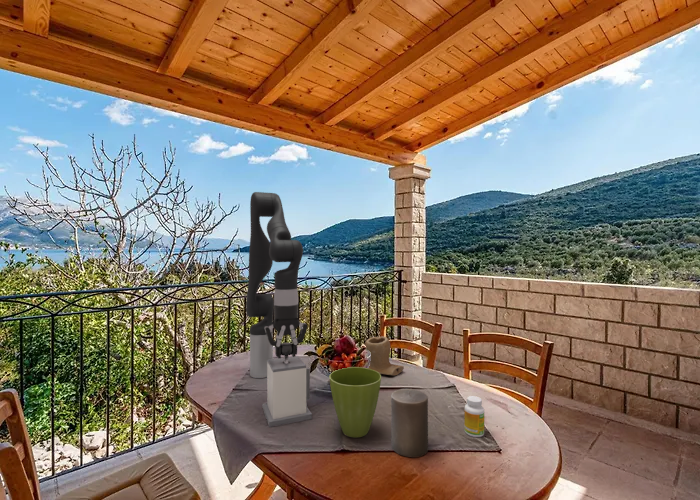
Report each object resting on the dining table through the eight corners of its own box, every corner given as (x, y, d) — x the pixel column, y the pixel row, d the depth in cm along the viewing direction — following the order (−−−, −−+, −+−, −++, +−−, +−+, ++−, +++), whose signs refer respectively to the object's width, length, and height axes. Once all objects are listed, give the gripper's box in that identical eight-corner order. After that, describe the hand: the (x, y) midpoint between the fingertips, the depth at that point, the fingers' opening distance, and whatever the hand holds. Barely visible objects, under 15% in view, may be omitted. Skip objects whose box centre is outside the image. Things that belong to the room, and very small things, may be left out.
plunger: (271, 400, 114) (271, 342, 114) (295, 396, 117) (295, 339, 117) (276, 410, 107) (276, 349, 107) (301, 406, 110) (301, 346, 110)
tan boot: (359, 374, 146) (359, 338, 146) (372, 366, 157) (372, 332, 157) (393, 381, 139) (393, 343, 139) (404, 372, 149) (404, 336, 149)
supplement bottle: (482, 439, 97) (482, 404, 97) (462, 434, 100) (462, 400, 100) (486, 431, 102) (486, 397, 101) (466, 426, 104) (467, 393, 104)
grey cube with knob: (262, 408, 116) (262, 358, 115) (303, 401, 121) (303, 353, 121) (269, 427, 104) (269, 371, 103) (315, 418, 109) (315, 365, 109)
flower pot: (322, 423, 106) (322, 370, 105) (366, 414, 111) (367, 364, 111) (340, 450, 92) (340, 389, 92) (390, 438, 98) (390, 380, 98)
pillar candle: (435, 454, 90) (435, 395, 90) (400, 460, 87) (400, 400, 87) (417, 435, 99) (417, 382, 100) (385, 440, 97) (385, 385, 97)
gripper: (304, 300, 118) (304, 351, 118) (261, 302, 112) (261, 356, 113) (311, 303, 111) (311, 357, 111) (265, 306, 106) (265, 363, 106)
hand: (286, 356), depth 112 cm, fingers closed on plunger, 4 cm apart
